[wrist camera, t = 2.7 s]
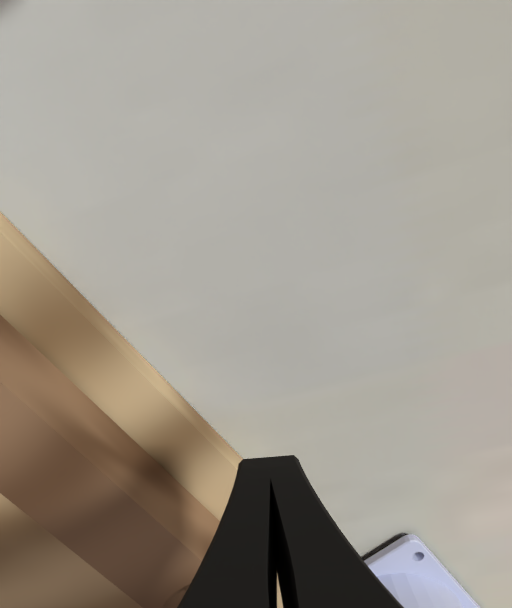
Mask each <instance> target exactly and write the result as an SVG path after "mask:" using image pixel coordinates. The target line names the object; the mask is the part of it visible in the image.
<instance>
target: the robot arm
mask: <svg viewBox="0 0 512 608" xmlns="http://www.w3.org/2000/svg"><path fill="white" fill-rule="evenodd" d="M416 552H417V553H416ZM277 575H278V580H279V586H280V592H281V598H282V603H283V608H480V606H479V605H478V604H477V603H476V602H475V601H474V600H473V598H472V597H471V596H470V595H469V594H468V593H467V592H466V591H465V589H464V588H463V587H462V586H461V585H460V584H459V583H458V581H457V580H456V579H455V578H454V577H453V576H452V575H451V574H450V572H449V571H448V570H447V569H446V568H445V567H444V566H443V564H442V563H441V562H440V561H439V560H438V559H437V558H436V557H435V555H434V554H433V553H432V552H431V551H430V550H429V549H428V547H427V546H426V545H425V544H424V543H423V542H422V541H421V540H420V538H419V537H417V536H416V535H412V534H409V535H405V536H403V537H401V538H400V539H398V540H397V541H395V542H393V543H392V544H390V545H389V546H387V547H385V548H384V549H382V550H381V551H379V552H377V553H376V554H374V555H372V556H371V557H369V558H368V559H366V560H364V561H363V560H362V558H361V557H360V556H359V554H358V553H357V552H356V550H355V549H354V548H353V547H352V545H351V544H350V543H349V541H348V540H347V539H346V537H345V536H344V535H343V533H342V532H341V530H340V529H339V528H338V526H337V525H336V523H335V522H334V520H333V519H332V517H331V516H330V514H329V513H328V511H327V510H326V508H325V507H324V505H323V504H322V502H321V501H320V499H319V498H318V496H317V494H316V493H315V491H314V489H313V487H312V486H311V484H310V482H309V480H308V479H307V477H306V475H305V473H304V471H303V469H302V467H301V465H300V462H299V460H298V459H297V458H296V457H295V456H294V455H290V456H278V457H266V458H253V459H243V460H242V461H241V462H240V463H239V464H238V470H237V474H236V478H235V482H234V485H233V488H232V491H231V494H230V497H229V500H228V503H227V506H226V508H225V511H224V513H223V516H222V518H221V520H220V523H219V525H218V528H217V530H216V533H215V535H214V537H213V539H212V541H211V543H210V546H209V548H208V550H207V552H206V554H205V556H204V558H203V560H202V562H201V564H200V566H199V568H198V570H197V572H196V574H195V576H194V578H193V580H192V582H191V584H190V586H189V587H188V589H187V591H186V593H185V595H184V596H183V598H182V600H181V602H180V603H179V605H178V607H177V608H277Z"/></svg>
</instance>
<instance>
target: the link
mask: <svg viewBox="0 0 512 608" xmlns="http://www.w3.org/2000/svg"><path fill="white" fill-rule="evenodd" d="M0 493H1V494H2V495H3V496H4V497H6V498H7V499H8V500H9V501H11V502H12V503H13V504H14V505H16V506H17V507H18V508H19V509H21V510H22V511H23V512H24V513H26V514H27V515H28V516H29V517H31V518H32V519H33V520H34V521H36V522H37V523H38V524H39V525H41V526H42V527H43V528H44V529H46V530H47V531H48V532H49V533H50V534H52V535H53V536H54V537H55V538H57V539H58V540H59V541H60V542H62V543H63V544H64V545H65V546H67V547H68V548H69V549H70V550H72V551H73V552H74V553H75V554H77V555H78V556H79V557H80V558H82V559H83V560H84V561H85V562H87V563H88V564H89V565H90V566H92V567H93V568H94V569H95V570H97V571H98V572H99V573H100V574H102V575H103V576H104V577H105V578H106V579H108V580H109V581H110V582H111V583H113V584H114V585H115V586H116V587H118V588H119V589H120V590H121V591H123V592H124V593H125V594H126V595H128V596H129V597H130V598H131V599H133V600H134V601H135V602H136V603H138V604H139V605H140V606H141V607H143V608H177V607H178V605H179V603H180V602H181V600H182V598H183V596H184V595H185V593H186V591H187V589H188V587H189V586H190V584H191V582H192V580H193V578H194V576H195V574H196V572H197V570H198V568H199V566H200V564H201V562H202V560H203V558H204V556H205V554H206V552H207V550H208V548H209V546H210V543H211V541H212V539H213V537H214V535H215V533H216V530H217V528H218V525H219V523H220V521H219V520H218V519H217V518H216V517H215V516H214V515H213V514H212V513H211V512H210V511H209V510H208V509H206V508H205V507H204V506H203V505H202V504H201V503H200V502H199V501H198V500H197V499H196V498H195V497H194V496H193V495H192V494H191V493H189V492H188V491H187V490H186V489H185V488H184V487H183V486H182V485H181V484H180V483H179V482H178V481H177V480H176V479H175V478H173V477H172V476H171V475H170V474H169V473H168V472H167V471H166V470H165V469H164V468H163V467H162V466H161V465H160V464H159V463H158V462H156V461H155V460H154V459H153V458H152V457H151V456H150V455H149V454H148V453H147V452H146V451H145V450H144V449H143V448H142V447H141V446H139V445H138V444H137V443H136V442H135V441H134V440H133V439H132V438H131V437H130V436H129V435H128V434H127V433H126V432H125V431H124V430H122V429H121V428H120V427H119V426H118V425H117V424H116V423H115V422H114V421H113V420H112V419H111V418H110V417H109V416H108V415H107V414H105V413H104V412H103V411H102V410H101V409H100V408H99V407H98V406H97V405H96V404H95V403H94V402H93V401H92V400H91V399H89V398H88V397H87V396H86V395H85V394H84V393H83V392H82V391H81V390H80V389H79V388H78V387H77V386H76V385H75V384H74V383H72V382H71V381H70V380H69V379H68V378H67V377H66V376H65V375H64V374H63V373H62V372H61V371H60V370H59V369H58V368H57V367H55V366H54V365H53V364H52V363H51V362H50V361H49V360H48V359H47V358H46V357H45V356H44V355H43V354H42V353H41V352H40V351H38V350H37V349H36V348H35V347H34V346H33V345H32V344H31V343H30V342H29V341H28V340H27V339H26V338H25V337H24V336H23V335H21V334H20V333H19V332H18V331H17V330H16V329H15V328H14V327H13V326H12V325H11V324H10V323H9V322H8V321H7V320H5V319H4V318H3V317H2V316H1V315H0Z"/></svg>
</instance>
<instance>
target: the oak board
mask: <svg viewBox="0 0 512 608" xmlns="http://www.w3.org/2000/svg"><path fill="white" fill-rule="evenodd" d="M0 315H1V316H2V317H3V318H4V319H5V320H7V321H8V322H9V323H10V324H11V325H12V326H13V327H14V328H15V329H16V330H17V331H18V332H19V333H20V334H21V335H23V336H24V337H25V338H26V339H27V340H28V341H29V342H30V343H31V344H32V345H33V346H34V347H35V348H36V349H37V350H38V351H40V352H41V353H42V354H43V355H44V356H45V357H46V358H47V359H48V360H49V361H50V362H51V363H52V364H53V365H54V366H55V367H57V368H58V369H59V370H60V371H61V372H62V373H63V374H64V375H65V376H66V377H67V378H68V379H69V380H70V381H71V382H72V383H74V384H75V385H76V386H77V387H78V388H79V389H80V390H81V391H82V392H83V393H84V394H85V395H86V396H87V397H88V398H89V399H91V400H92V401H93V402H94V403H95V404H96V405H97V406H98V407H99V408H100V409H101V410H102V411H103V412H104V413H105V414H107V415H108V416H109V417H110V418H111V419H112V420H113V421H114V422H115V423H116V424H117V425H118V426H119V427H120V428H121V429H122V430H124V431H125V432H126V433H127V434H128V435H129V436H130V437H131V438H132V439H133V440H134V441H135V442H136V443H137V444H138V445H139V446H141V447H142V448H143V449H144V450H145V451H146V452H147V453H148V454H149V455H150V456H151V457H152V458H153V459H154V460H155V461H156V462H158V463H159V464H160V465H161V466H162V467H163V468H164V469H165V470H166V471H167V472H168V473H169V474H170V475H171V476H172V477H173V478H175V479H176V480H177V481H178V482H179V483H180V484H181V485H182V486H183V487H184V488H185V489H186V490H187V491H188V492H189V493H191V494H192V495H193V496H194V497H195V498H196V499H197V500H198V501H199V502H200V503H201V504H202V505H203V506H204V507H205V508H206V509H208V510H209V511H210V512H211V513H212V514H213V515H214V516H215V517H216V518H217V519H218V520H219V521H220V520H221V518H222V516H223V513H224V511H225V508H226V506H227V503H228V500H229V497H230V494H231V491H232V488H233V485H234V482H235V478H236V474H237V470H238V464H239V463H240V462H241V461H242V460H243V459H242V458H241V457H240V456H239V455H238V454H237V453H236V452H235V450H234V449H233V448H232V447H231V446H230V445H229V444H228V443H227V442H226V441H225V440H224V439H223V438H222V437H221V436H220V435H219V434H218V433H217V432H216V431H215V430H214V429H213V428H212V427H211V426H210V425H209V424H208V423H207V422H206V421H205V420H204V419H203V418H202V417H201V416H200V415H199V414H198V413H197V412H196V411H195V410H194V409H193V408H192V407H191V406H190V405H189V404H188V403H187V402H186V401H185V400H184V399H183V398H182V396H181V395H180V394H179V393H178V392H177V391H176V390H175V389H174V388H173V387H172V386H171V385H170V384H169V383H168V382H167V381H166V380H165V379H164V378H163V377H162V376H161V375H160V374H159V373H158V372H157V371H156V370H155V369H154V368H153V367H152V366H151V365H150V364H149V363H148V362H147V361H146V360H145V359H144V358H143V357H142V356H141V355H140V354H139V353H138V352H137V351H136V350H135V349H134V348H133V347H132V346H131V345H130V343H129V342H128V341H127V340H126V339H125V338H124V337H123V336H122V335H121V334H120V333H119V332H118V331H117V330H116V329H115V328H114V327H113V326H112V325H111V324H110V323H109V322H108V321H107V320H106V319H105V318H104V317H103V316H102V315H101V314H100V313H99V312H98V311H97V310H96V309H95V308H94V307H93V306H92V305H91V304H90V303H89V302H88V301H87V300H86V299H85V298H84V297H83V296H82V295H81V294H80V293H79V292H78V290H77V289H76V288H75V287H74V286H73V285H72V284H71V283H70V282H69V281H68V280H67V279H66V278H65V277H64V276H63V275H62V274H61V273H60V272H59V271H58V270H57V269H56V268H55V267H54V266H53V265H52V264H51V263H50V262H49V261H48V260H47V259H46V258H45V257H44V256H43V255H42V254H41V253H40V252H39V251H38V250H37V249H36V248H35V247H34V246H33V245H32V244H31V243H30V242H29V241H28V240H27V239H26V237H25V236H24V235H23V234H22V233H21V232H20V231H19V230H18V229H17V228H16V227H15V226H14V225H13V224H12V223H11V222H10V221H9V220H8V219H7V218H6V217H5V216H4V215H3V214H2V213H1V212H0ZM0 608H143V607H141V606H140V605H139V604H138V603H136V602H135V601H134V600H133V599H131V598H130V597H129V596H128V595H126V594H125V593H124V592H123V591H121V590H120V589H119V588H118V587H116V586H115V585H114V584H113V583H111V582H110V581H109V580H108V579H106V578H105V577H104V576H103V575H102V574H100V573H99V572H98V571H97V570H95V569H94V568H93V567H92V566H90V565H89V564H88V563H87V562H85V561H84V560H83V559H82V558H80V557H79V556H78V555H77V554H75V553H74V552H73V551H72V550H70V549H69V548H68V547H67V546H65V545H64V544H63V543H62V542H60V541H59V540H58V539H57V538H55V537H54V536H53V535H52V534H50V533H49V532H48V531H47V530H46V529H44V528H43V527H42V526H41V525H39V524H38V523H37V522H36V521H34V520H33V519H32V518H31V517H29V516H28V515H27V514H26V513H24V512H23V511H22V510H21V509H19V508H18V507H17V506H16V505H14V504H13V503H12V502H11V501H9V500H8V499H7V498H6V497H4V496H3V495H2V494H1V493H0ZM277 608H283V603H282V598H281V592H280V586H279V580H278V575H277Z"/></svg>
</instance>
